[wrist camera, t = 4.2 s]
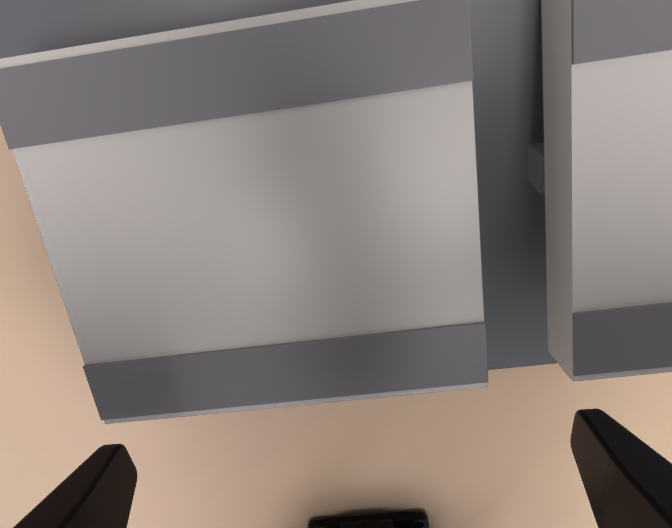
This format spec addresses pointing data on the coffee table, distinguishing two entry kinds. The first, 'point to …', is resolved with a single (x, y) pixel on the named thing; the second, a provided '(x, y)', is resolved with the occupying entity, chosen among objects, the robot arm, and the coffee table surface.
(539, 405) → the coffee table surface
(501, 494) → the coffee table surface
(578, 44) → the grey flat slab
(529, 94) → the switch unit
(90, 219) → the rocker
